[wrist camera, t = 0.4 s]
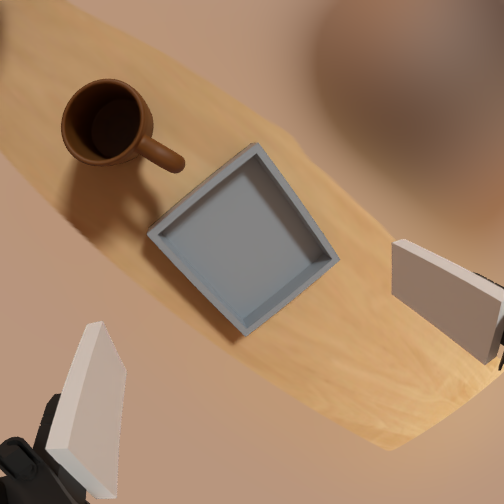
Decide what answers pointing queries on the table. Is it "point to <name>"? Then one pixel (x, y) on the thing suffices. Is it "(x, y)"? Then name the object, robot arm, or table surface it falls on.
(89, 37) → the table surface
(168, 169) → the mug
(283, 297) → the tray
